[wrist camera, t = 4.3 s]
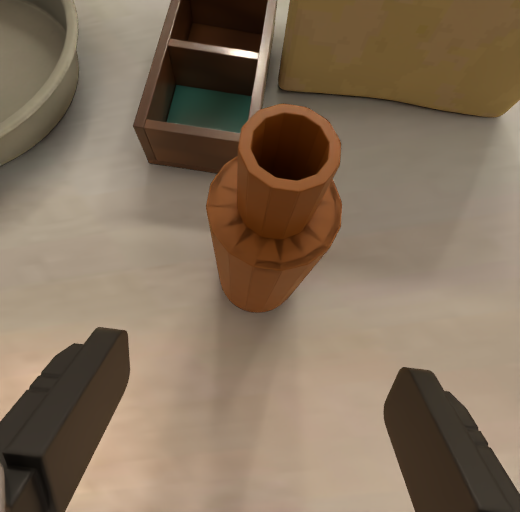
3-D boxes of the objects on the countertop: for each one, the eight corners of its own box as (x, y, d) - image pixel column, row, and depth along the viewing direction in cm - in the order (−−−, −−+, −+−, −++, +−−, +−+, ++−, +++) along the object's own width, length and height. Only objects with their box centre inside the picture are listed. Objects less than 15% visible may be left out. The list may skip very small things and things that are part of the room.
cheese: (500, 78, 34) (694, -129, 19) (498, 153, 31) (726, -27, 16) (296, 23, 34) (340, -220, 20) (273, 92, 31) (306, -137, 17)
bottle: (297, 246, 26) (381, 87, 11) (290, 317, 24) (381, 244, 9) (226, 236, 26) (213, 60, 11) (214, 307, 24) (178, 216, 9)
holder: (273, 35, 33) (278, -14, 29) (251, 178, 28) (254, 144, 23) (187, 22, 33) (179, -30, 29) (148, 163, 28) (132, 126, 23)
